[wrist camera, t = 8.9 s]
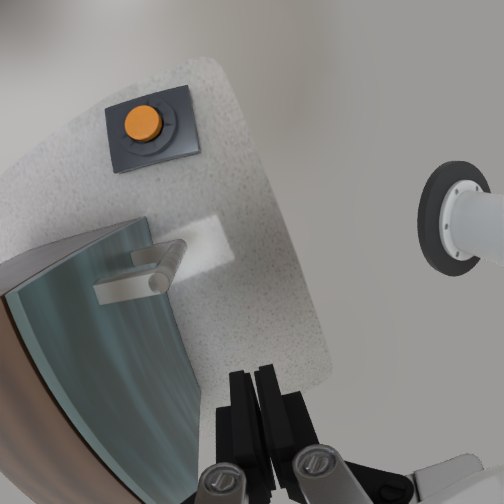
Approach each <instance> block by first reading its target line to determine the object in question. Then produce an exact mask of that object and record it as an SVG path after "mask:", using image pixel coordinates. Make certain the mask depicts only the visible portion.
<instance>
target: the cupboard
mask: <svg viewBox="0 0 504 504" xmlns="http://www.w3.org/2000/svg"><path fill="white" fill-rule="evenodd" d="M135 220H137V219H134V220H131V221H127V222H123V223H119V224H115V225H111V226H108V227H104V228H100V229H97V230H93V231H90V232H86V233H83V234H79V235H76V236H72V237H69V238H66V239H62V240H59V241H56V242H53V243H49V244H46V245H43V246H40V247H37V248H34V249H31V250H28V251H26V252H24V253H22V254H19V255H17V256H15V257H13V258H11V259H9V260H7V261H5V262H3V263H1V264H0V471H1V472H2V473H3V474H4V475H5V476H6V477H7V478H8V479H9V480H10V481H11V482H12V483H13V484H14V485H15V486H16V487H18V488H19V489H20V490H21V491H22V492H23V493H24V494H25V495H27V496H28V497H29V498H30V499H31V500H33V501H34V502H35V503H36V504H146V503H145V502H144V501H143V500H142V499H140V498H139V497H138V496H137V495H136V494H135V493H134V492H133V491H132V490H131V489H130V488H129V487H128V486H127V485H126V484H125V483H124V482H123V481H122V480H121V479H120V478H119V477H118V476H117V475H116V474H115V473H114V472H113V471H112V470H111V469H110V468H109V467H108V466H107V464H106V463H105V462H104V461H103V460H102V459H101V458H100V457H99V455H98V454H97V453H96V452H95V451H94V449H93V448H92V447H91V446H90V445H89V443H88V442H87V441H86V440H85V438H84V437H83V436H82V435H81V433H80V432H79V431H78V429H77V428H76V427H75V425H74V424H73V423H72V421H71V420H70V418H69V417H68V416H67V414H66V413H65V411H64V410H63V408H62V407H61V405H60V404H59V402H58V401H57V399H56V398H55V396H54V395H53V393H52V391H51V390H50V388H49V386H48V385H47V383H46V381H45V380H44V378H43V376H42V375H41V373H40V371H39V369H38V367H37V366H36V364H35V362H34V360H33V358H32V356H31V354H30V352H29V350H28V348H27V346H26V344H25V342H24V340H23V338H22V336H21V334H20V331H19V329H18V327H17V325H16V322H15V320H14V318H13V315H12V313H11V310H10V308H9V305H8V303H7V300H6V297H5V295H6V294H7V293H8V292H10V291H11V290H13V289H14V288H16V287H17V286H19V285H20V284H22V283H24V282H25V281H27V280H28V279H30V278H32V277H33V276H35V275H36V274H38V273H40V272H41V271H43V270H45V269H46V268H48V267H50V266H51V265H53V264H55V263H56V262H58V261H60V260H62V259H63V258H65V257H67V256H69V255H70V254H72V253H74V252H76V251H78V250H79V249H81V248H83V247H85V246H87V245H88V244H90V243H92V242H94V241H96V240H98V239H100V238H101V237H103V236H105V235H107V234H109V233H111V232H113V231H115V230H117V229H119V228H121V227H123V226H125V225H127V224H129V223H131V222H133V221H135Z"/></svg>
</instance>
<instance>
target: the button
mask: <svg viewBox="0 0 504 504" xmlns="http://www.w3.org/2000/svg"><path fill="white" fill-rule="evenodd" d="M161 127H162V119H161V117H160V115H159V114H158V113H157V111H156V110H155V109H153V108H152V107H150V106H145V105H143V106H138V107H136V108H134V109H133V110H132V111H131V112H130V113H129V114H128V116H127V118H126V120H125V130H126V132H127V134H128V135H129V136H130V137H132V138H134V139H136V140H138V141H142V142H145V141H149V140H152V139H153V138H155V137H156V136H157V135H158V134H159V132H160V130H161Z"/></svg>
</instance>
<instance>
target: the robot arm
mask: <svg viewBox="0 0 504 504" xmlns="http://www.w3.org/2000/svg"><path fill="white" fill-rule="evenodd" d="M439 232H440V238H441V242H442V245H443V247H444V249H445V251H446V252H447V254H448V255H450V256H451V257H452V258H455V259H457V260H460V261H462V260H467V259H470V258H471V257H473V256H477V257H479V258H482V259H484V260H487V261H489V262H492V263H494V264H497V265H499V266H502V267H504V195H498V194H492V193H485V192H483V190H482V189H481V188H480V186H479V185H478V184H477V183H475V182H473V181H471V180H460V181H458V182H456V183H455V184H453V185H452V186H451V187H450V189H449V190H448V191H447V193H446V195H445V197H444V200H443V202H442V206H441V210H440V217H439ZM254 375H255V381H256V386H257V392H258V398H259V404H260V407H259V404H258V400H257V397H256V393H255V389H254V386H253V382H252V379H251V375H250V373H244V370H241V371H236V372H231V373H229V380H230V400H231V406H226V407H219V408H216V464H214V465H212V466H210V467H208V468H207V469H205V470H204V472H203V473H202V474H201V477H200V479H199V483H198V488H197V491H196V492H194V493H193V494H192V495H191V496H189V497H188V498H187V499H186V500H184V501H183V502H182V503H180V504H269V503H270V502H271V501H270V498H271V497H272V494H271V491H272V490H276V485H275V480H274V475H273V470H272V464H273V467H274V470H275V473H276V476H277V479H278V481H279V485H280V487H281V489H282V488H286V490H287V493H288V496H289V499H291V500H294V501H296V502H298V503H301V504H504V464H502V465H497V466H494V467H491V468H487V469H483V466H482V463H481V461H480V459H479V458H478V457H477V456H475V455H473V454H463V455H460V456H457V457H455V458H452V459H449V460H447V461H444V462H441V463H438V464H436V465H432V466H429V467H426V468H423V469H420V470H416V471H414V473H413V474H410V475H405V476H403V475H400V474H395V473H390V472H386V471H382V470H377V469H373V468H369V467H366V466H362V465H358V464H355V463H351V462H347V461H344V460H343V459H342V457H341V456H340V454H339V453H338V452H337V451H336V450H335V449H334V448H333V447H331V446H328V445H323V444H319V441H318V438H317V436H316V433H315V430H314V427H313V425H312V422H311V419H310V417H309V414H308V411H307V408H306V405H305V402H304V400H303V397H302V394H301V392H300V391H297V392H294V393H290V394H285V395H281V392H280V389H279V385H278V382H277V378H276V374H275V371H274V367H273V364H269V365H265V366H260V367H259V371H254ZM260 409H261V411H260ZM270 458H271V459H270ZM271 461H272V464H271Z"/></svg>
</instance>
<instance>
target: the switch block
mask: <svg viewBox="0 0 504 504" xmlns="http://www.w3.org/2000/svg"><path fill="white" fill-rule="evenodd" d="M143 105H145V106H150V107H152V108H153V109H155V110H156V111H157V113H158V114H159V115H160V117H161V119H162V127H161V130H160V132H159V134H158V135H157V136H156V137H155V138H153V139H152V140H149V141H145V142H142V141H138V140H136V139H134V138H132V137H130V136H129V135H128V134H127V132H126V130H125V120H126V118H127V116H128V114H129V113H130V112H131V111H132V110H133V109H134V108H136V107H138V106H143ZM105 117H106V126H107V133H108V141H109V147H110V154H111V160H112V166H113V171H114V173H118V174H121V173H124V172H128V171H131V170H135V169H138V168H142V167H145V166H149V165H153V164H157V163H160V162H164V161H168V160H173V159H177V158H181V157H185V156H190V155H194V154H199V153H201V152H200V147H199V141H198V136H197V130H196V125H195V119H194V113H193V108H192V102H191V96H190V90H189V87H188V85H185V86H181V87H176V88H172V89H168V90H164V91H160V92H157V93H153V94H149V95H146V96H142V97H139V98H136V99H132V100H129V101H126V102H123V103H120V104H117V105H114V106H111V107H108V108H106V109H105Z"/></svg>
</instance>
